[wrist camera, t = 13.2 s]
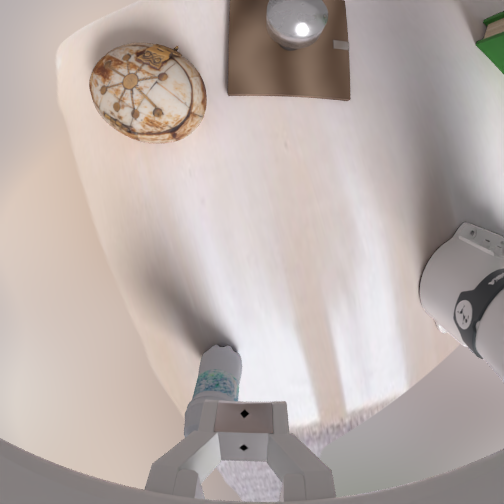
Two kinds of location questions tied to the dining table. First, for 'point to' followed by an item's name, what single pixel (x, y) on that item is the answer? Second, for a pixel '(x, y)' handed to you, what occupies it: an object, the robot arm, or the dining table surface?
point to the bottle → (214, 382)
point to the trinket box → (148, 92)
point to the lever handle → (296, 21)
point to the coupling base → (287, 56)
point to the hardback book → (494, 40)
